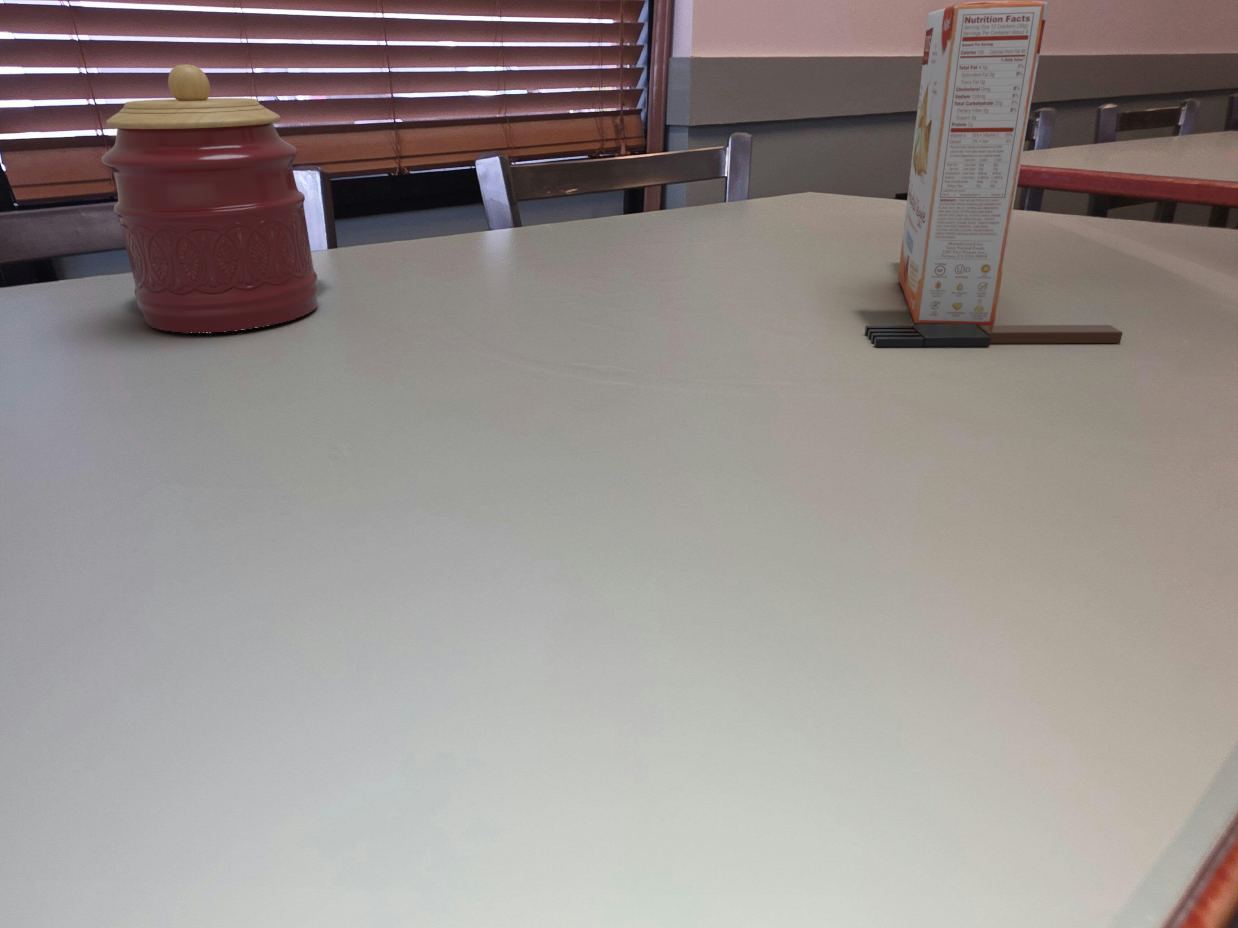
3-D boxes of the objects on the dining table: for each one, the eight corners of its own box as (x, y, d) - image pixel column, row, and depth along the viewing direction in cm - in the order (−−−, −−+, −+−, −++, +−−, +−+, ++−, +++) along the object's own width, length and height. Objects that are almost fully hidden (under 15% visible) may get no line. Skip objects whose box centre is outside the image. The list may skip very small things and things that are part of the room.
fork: (1102, 333, 61) (1105, 321, 60) (1125, 346, 58) (1128, 335, 57) (864, 333, 61) (865, 322, 61) (875, 347, 58) (876, 335, 58)
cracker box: (892, 281, 75) (925, 9, 66) (965, 283, 74) (1009, 8, 65) (907, 325, 63) (950, -1, 54) (995, 329, 62) (1054, -4, 53)
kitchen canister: (263, 342, 61) (210, 64, 53) (101, 332, 63) (30, 66, 56) (351, 296, 72) (318, 63, 65) (212, 290, 75) (164, 64, 67)
